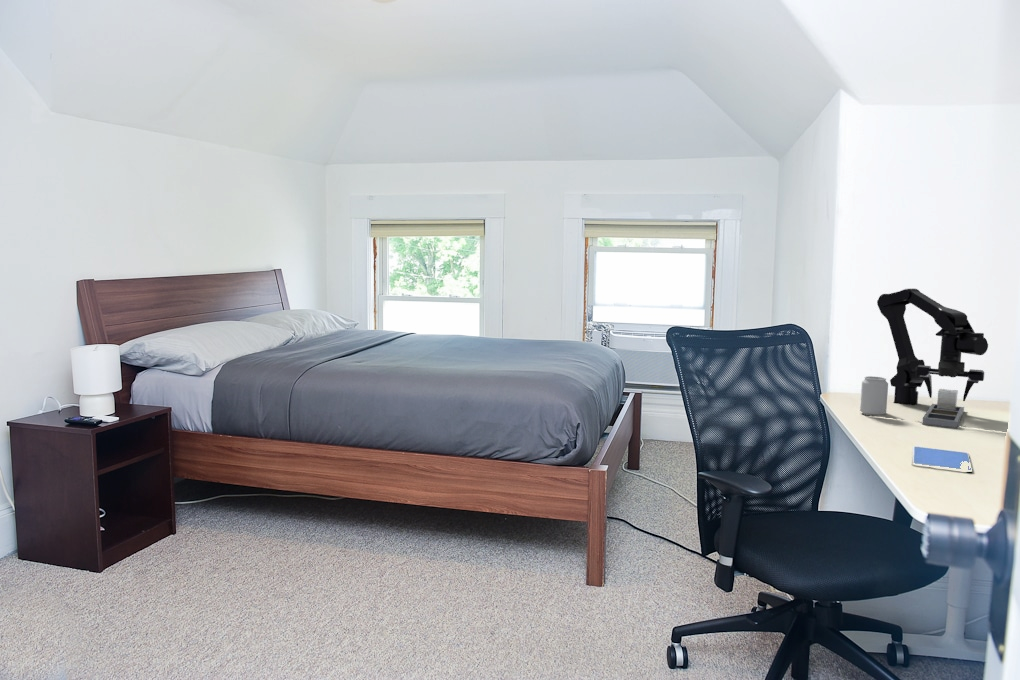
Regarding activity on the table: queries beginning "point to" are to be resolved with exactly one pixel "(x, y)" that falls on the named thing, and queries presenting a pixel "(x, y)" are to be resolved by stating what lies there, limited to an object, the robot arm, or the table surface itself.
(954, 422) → the gray compartment tray
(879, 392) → the can
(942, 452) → the tablet computer
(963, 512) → the table surface
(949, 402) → the metal block
